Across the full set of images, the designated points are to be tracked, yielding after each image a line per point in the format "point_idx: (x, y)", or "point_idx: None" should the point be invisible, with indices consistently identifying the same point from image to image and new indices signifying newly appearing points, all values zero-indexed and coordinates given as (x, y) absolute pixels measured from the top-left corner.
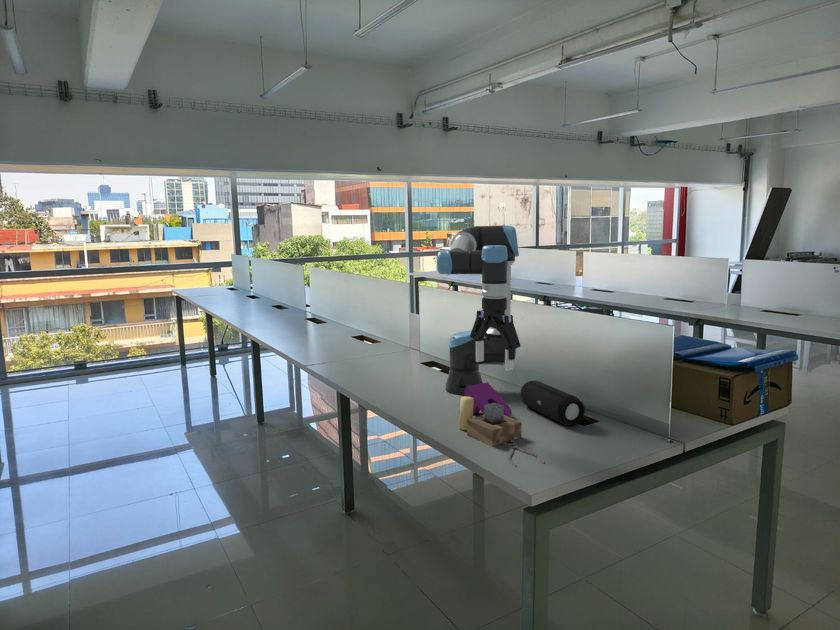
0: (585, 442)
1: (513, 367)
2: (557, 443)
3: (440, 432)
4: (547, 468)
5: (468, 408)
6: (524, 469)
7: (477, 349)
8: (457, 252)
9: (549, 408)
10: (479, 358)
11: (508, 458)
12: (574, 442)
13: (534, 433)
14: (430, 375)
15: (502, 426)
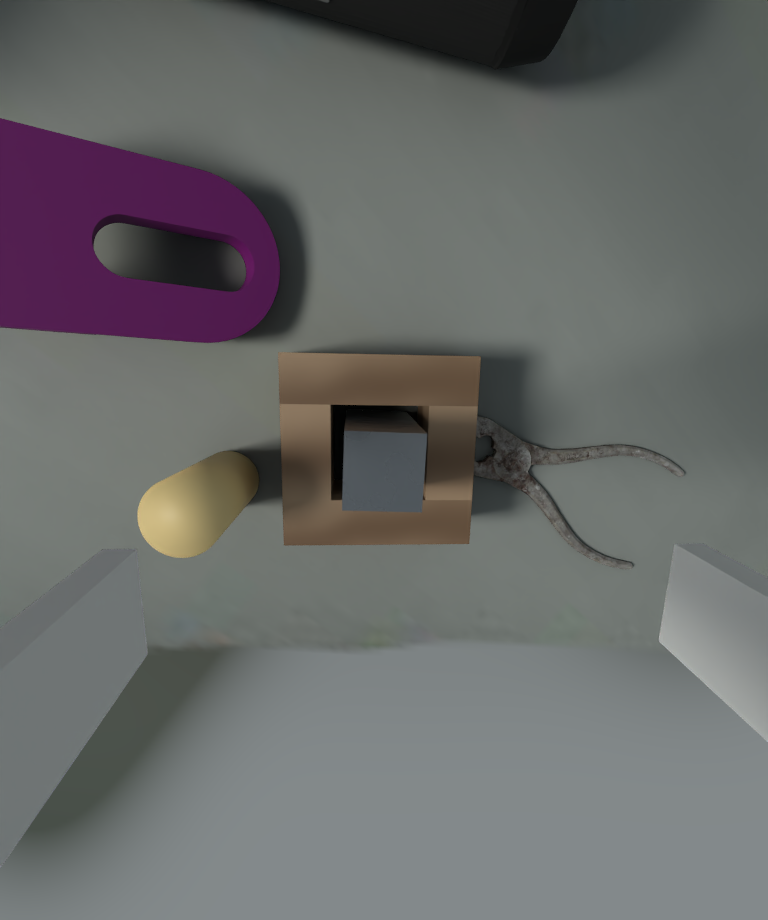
0: (683, 166)
1: (724, 556)
2: (605, 280)
3: (209, 588)
4: (711, 493)
5: (232, 518)
6: (661, 558)
7: (33, 812)
8: None
9: (426, 28)
10: (124, 647)
11: (574, 547)
12: (649, 208)
13: (465, 269)
14: None
15: (463, 474)
